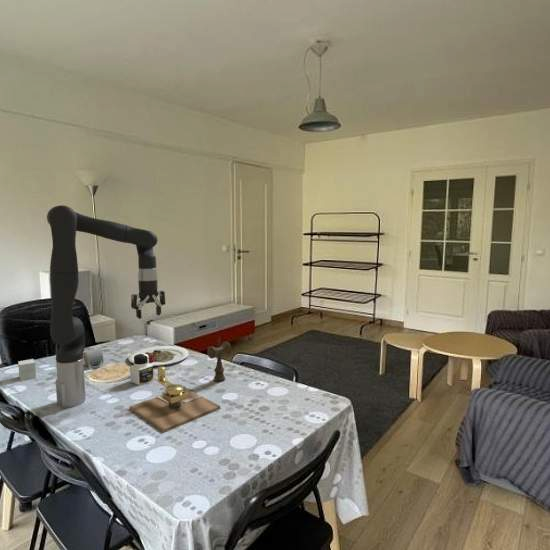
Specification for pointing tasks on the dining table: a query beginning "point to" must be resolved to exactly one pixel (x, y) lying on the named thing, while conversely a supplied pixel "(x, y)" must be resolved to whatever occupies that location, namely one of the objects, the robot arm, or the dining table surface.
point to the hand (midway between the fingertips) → (149, 316)
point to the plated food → (161, 354)
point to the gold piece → (171, 388)
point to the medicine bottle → (141, 370)
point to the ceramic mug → (93, 358)
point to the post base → (174, 410)
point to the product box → (27, 369)
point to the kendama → (219, 358)
